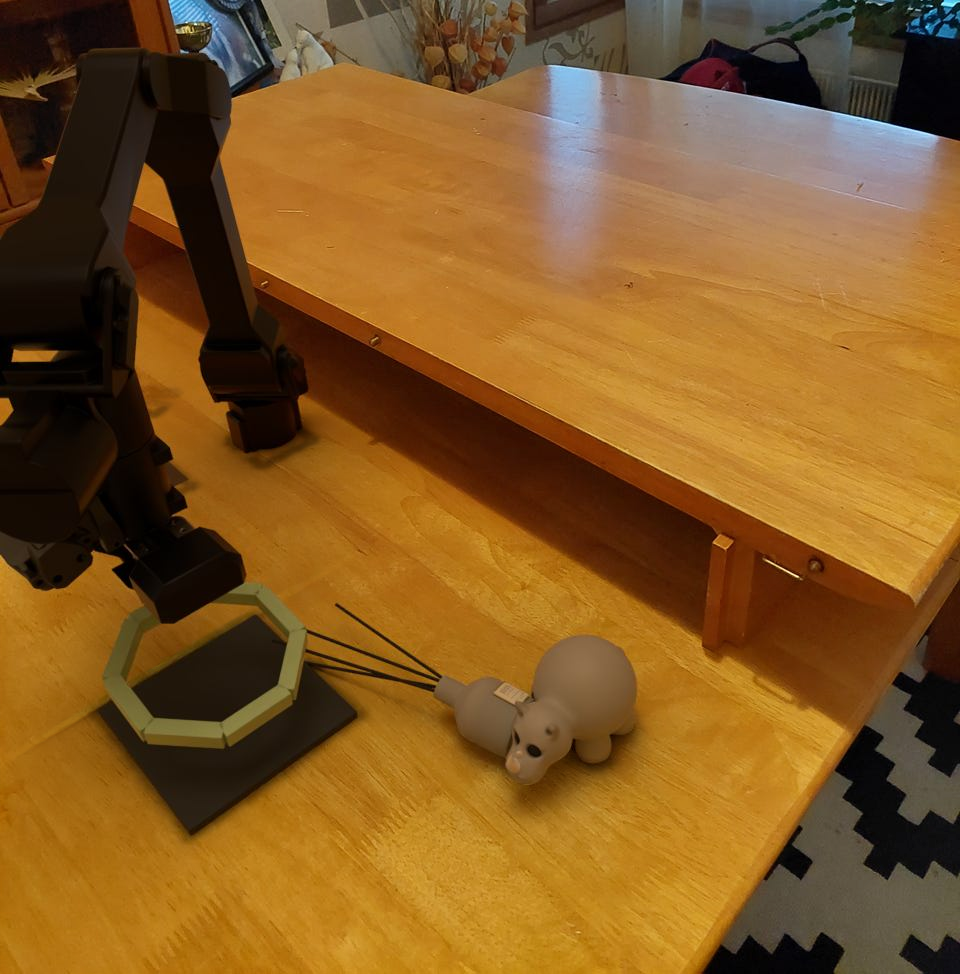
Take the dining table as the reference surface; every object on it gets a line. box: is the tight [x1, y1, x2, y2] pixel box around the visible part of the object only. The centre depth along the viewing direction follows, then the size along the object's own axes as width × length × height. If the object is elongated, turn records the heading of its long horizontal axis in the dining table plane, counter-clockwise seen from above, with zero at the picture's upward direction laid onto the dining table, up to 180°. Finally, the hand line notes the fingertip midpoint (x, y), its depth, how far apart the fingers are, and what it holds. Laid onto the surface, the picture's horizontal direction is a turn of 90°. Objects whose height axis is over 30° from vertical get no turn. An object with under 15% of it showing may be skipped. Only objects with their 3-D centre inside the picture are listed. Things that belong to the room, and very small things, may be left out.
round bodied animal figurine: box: [504, 634, 638, 786], centre depth 64 cm, size 7×12×8 cm, turn 137°
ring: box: [101, 581, 309, 749], centre depth 66 cm, size 13×13×1 cm
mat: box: [97, 613, 359, 836], centre depth 70 cm, size 14×14×1 cm
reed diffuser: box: [272, 602, 535, 759], centre depth 69 cm, size 10×7×20 cm
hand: (166, 607), depth 69 cm, fingers closed on ring, 1 cm apart
